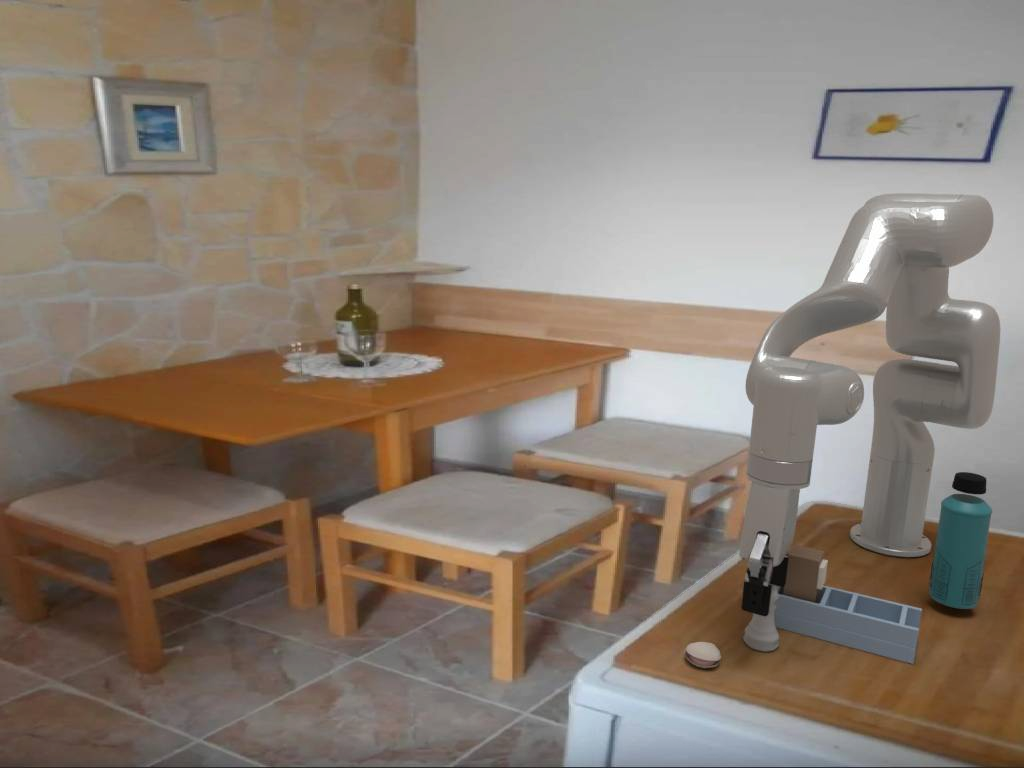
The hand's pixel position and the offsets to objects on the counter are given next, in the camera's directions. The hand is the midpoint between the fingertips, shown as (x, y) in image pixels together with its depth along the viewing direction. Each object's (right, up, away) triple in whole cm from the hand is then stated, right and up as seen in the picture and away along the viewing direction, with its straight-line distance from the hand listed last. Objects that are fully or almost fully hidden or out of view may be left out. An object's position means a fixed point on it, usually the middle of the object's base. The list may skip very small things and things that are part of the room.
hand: (763, 597), depth 104 cm
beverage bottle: (+31, -5, +13) cm, 34 cm away
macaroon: (-8, -8, -2) cm, 11 cm away
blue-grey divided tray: (+12, -6, +5) cm, 14 cm away
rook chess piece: (0, -7, +2) cm, 7 cm away
